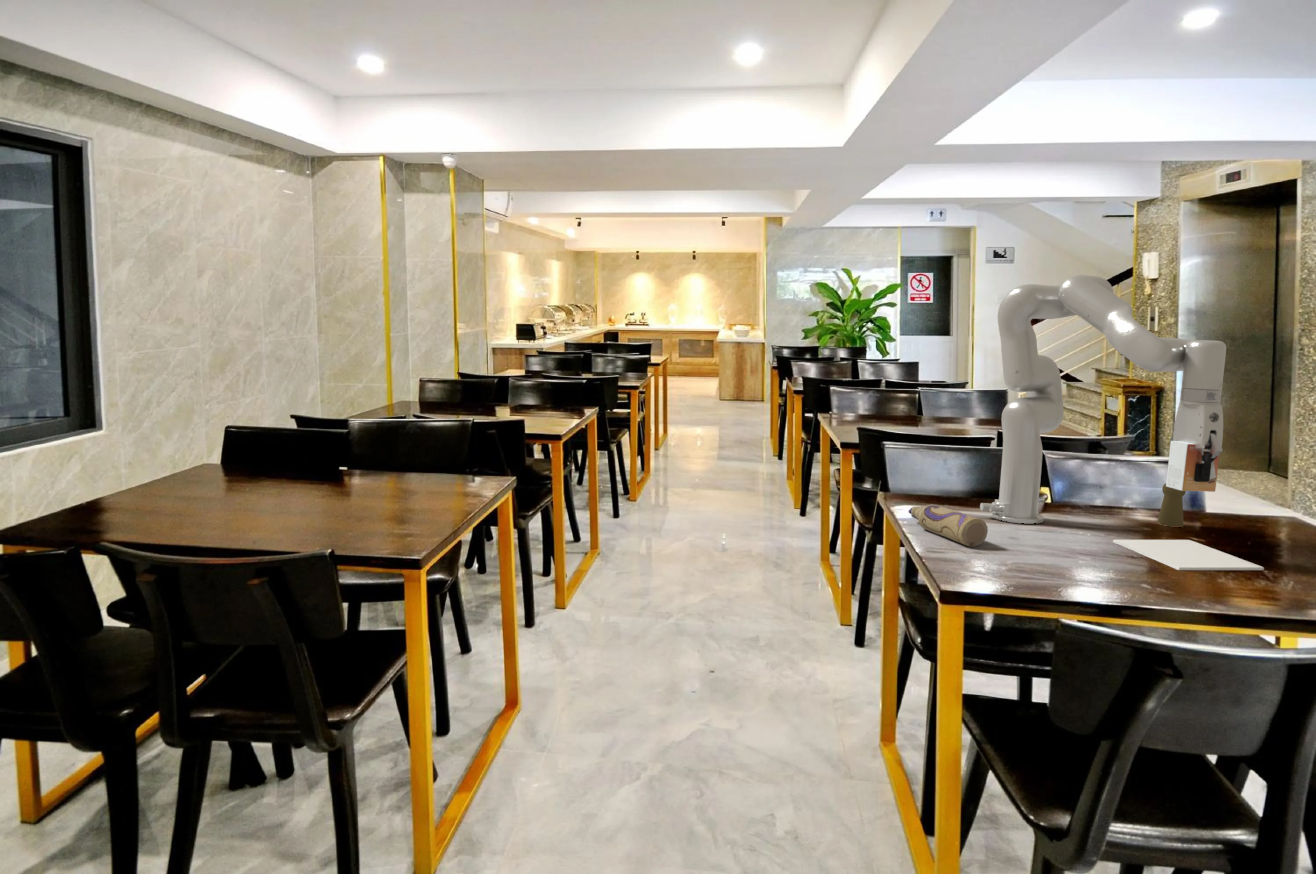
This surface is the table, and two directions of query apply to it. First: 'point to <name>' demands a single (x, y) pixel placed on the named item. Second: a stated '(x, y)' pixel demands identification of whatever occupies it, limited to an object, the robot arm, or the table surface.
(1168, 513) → the cork
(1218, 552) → the mat
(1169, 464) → the small box
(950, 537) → the decorative bottle
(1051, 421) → the robot arm
